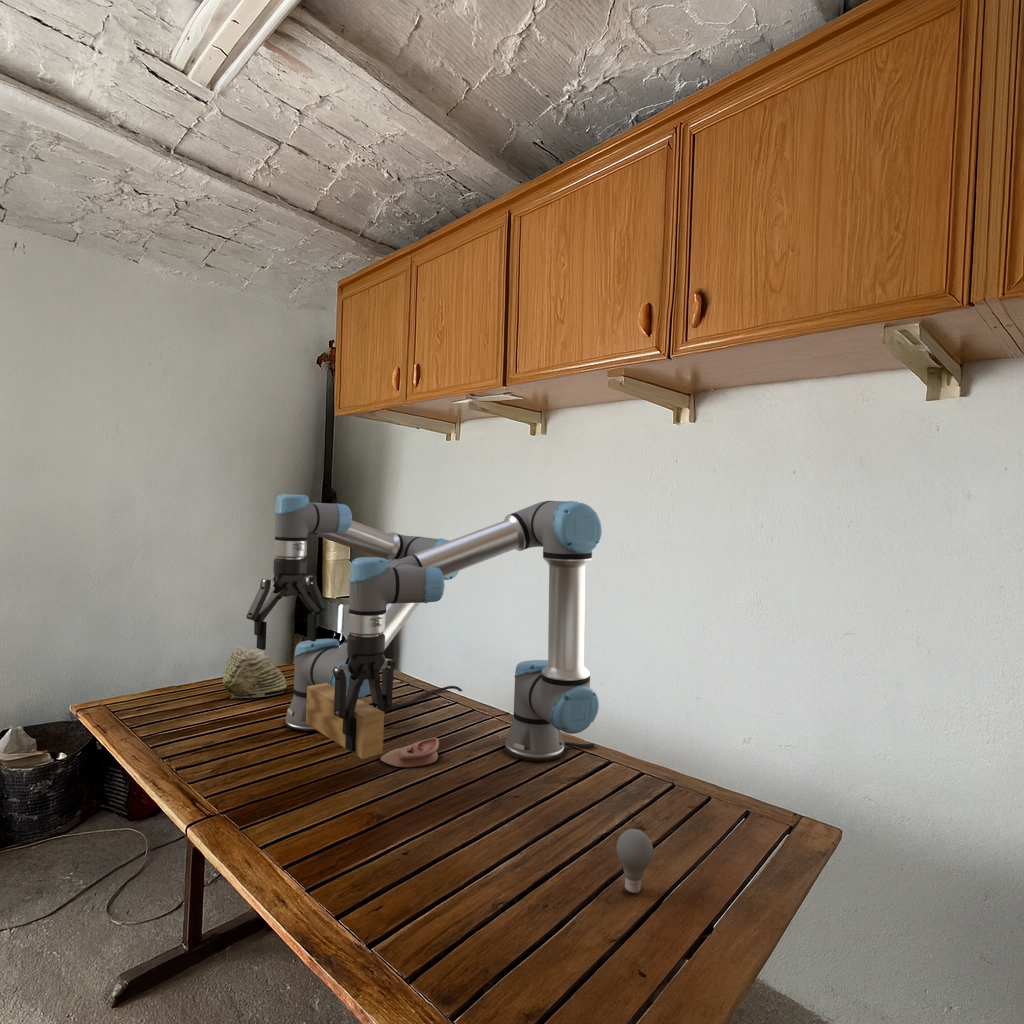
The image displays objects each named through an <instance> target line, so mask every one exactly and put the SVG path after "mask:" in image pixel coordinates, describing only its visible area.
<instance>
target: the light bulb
mask: <svg viewBox="0 0 1024 1024" xmlns="http://www.w3.org/2000/svg"><path fill="white" fill-rule="evenodd" d="M615 849H616V854H617V857H618V859H619V861H620V863H621V865H622V867H623V873H624V874H623V875H624V876H625V878H624V888H625V890H627V891H628V892H630V893H634V894H635V893H639V892H640V891H641V889H642V887H641V886H642V879H643V877H644V875H645V871H646V868H647V867H648V866H649V864H650V863H651V861H652V859H653V855H654V847H653V843H652V841H651V838H649V836H648V835H647V834H646V833H645V832H643V831H642V830H641V829H636V828H629V829H627V830H625V831H623V832H622V833H621V834H620V835H619V837H618V839H617V841H616V847H615Z"/></svg>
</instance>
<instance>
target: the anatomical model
mask: <svg viewBox="0 0 1024 1024" xmlns="http://www.w3.org/2000/svg"><path fill="white" fill-rule="evenodd" d="M439 747H440V741H439V739H438V737H430V738H426V739H422V740H419V741H416V742H414V743H411V744H409V745H406V746H403V747H398V748H395V749H392V750H389V751H388V752H386V753H385V754H383V755H382V756H381V757H380V759H379V760H380V761H381V762H383V763H384V764H387V765H390V766H392V767H397V768H413V767H420V766H425V765H431V764H432V763H435V762H436V761H437V760H438V758H439V754H438V752H437V751H438V749H439Z"/></svg>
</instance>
